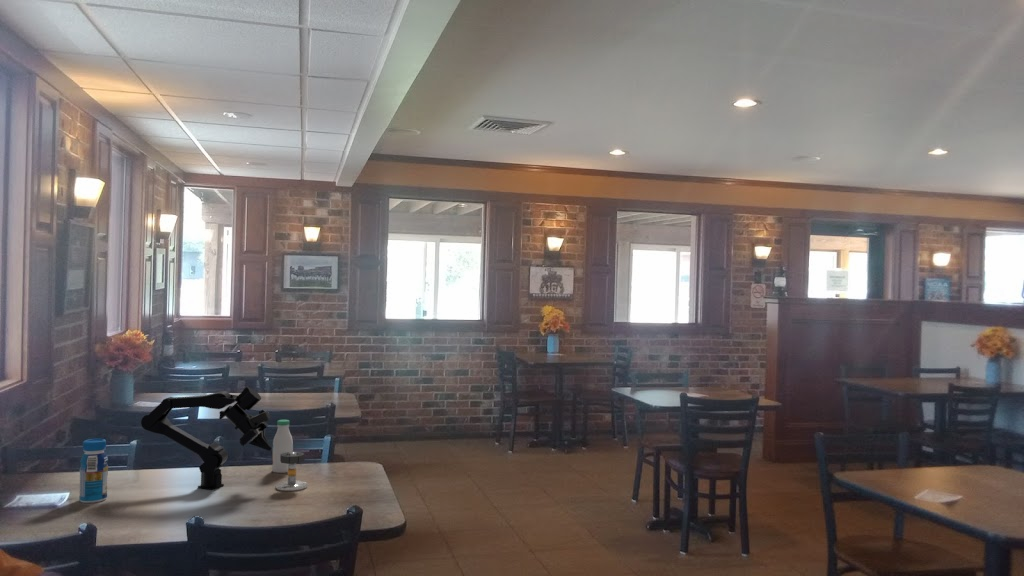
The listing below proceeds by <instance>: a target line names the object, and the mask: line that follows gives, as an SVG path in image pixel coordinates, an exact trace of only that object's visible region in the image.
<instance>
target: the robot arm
mask: <svg viewBox="0 0 1024 576" xmlns="http://www.w3.org/2000/svg"><path fill="white" fill-rule="evenodd" d="M261 400H262V397H261V395H260V393H258V392H257V391H256V390H254V389H252V388H250V387H249V386H246V387H245V388H244V389H243V390H242V391H241V392H240V393H239V394H238V395H237V394H231V393H229V392H228V390H227V391H226V390H222V391H218V392H214V393H211V394H210V393H209V394H206V395H194V396H193V395H192V396H191V395H190V396H179V397H178V396H177V397H174V396H169V397H166V398H163V400H162V401H160V403H159V404H158V405H157V406H156V407H155V408H154V409H153V410H151V412H150V413H148V414H146V415H144V416H142V417H141V420H140V421H141V422H140V423H141V428H142V429H143V430H145V431H147V432H151V433H153V434H158V435H162V436H165V437H167V438H168V439H169V440H172V441H174V442H175V443H177V444H179V445H181V446H183V447H184V448H186V449H188V450H189V451H191V452H193V453H194V454H196V455H198V457H199V458H200V459H201V461H202V462H203V463H201V465H199V466H198V469H199V472H200V474H201V475H200V485H198V486H197V488H198V489H203V490H215V489H218V488H220V487H223V486H225V484H224V483H222V481H223V480H222V479H223V478H222V477H223V474H222V469H220V468H222V467H223V465H224V463H225V462H226V461H227V460H228V456H229V455H228V451H227V450H226V449H225V446H223V445H222V446H221V445H220V444H218V443H217V442H215V441H213V442H212V443H210V444H209V443H206V442H204V441H202V440H200V439H199V438H196V437H195V436H193V435H192V434H189V432H186V431H185V430H183V429H181V428H179V427H178V426H176V425H174V424H173V422H171V420H170V419H169V418H168V415H169V414H170V413H171V411H172V410H173V409H187V408H188V409H189V408H200V407H201V408H208V409H215V410H221V409H224V408H225V409H224V410H221V411H219V418H218V419H219V420H223V419H224V418H225V417H226V418H227V419H228V421H230V422H231V423H232V425H233V426H234V429H235V430H236V431H237V430H238V431H240V433H241V434H243V435H242V436H241V437H240V438H239V443H240V445H241V446H242V447H245V446H246V445H247V444H248V445H251V446H255V447H258V448H261V449H263V450H266V451H269V452H270V451H271V450H273V447H272V445H271V444H270V442H269V440H268V439H267V436H266V431H267V429H266V428H267V427H269V424H268V423H267V421H269V420H271V418H272V417H271V415H270V412H269V411H268V410H265V409H264V408H263V409H261V410H259V411H258V414H257V415H254V416H253V415H252V414H248V413H247V412H246V411H250V410H251V409H253V407H255V405H257V404H258V403H259V402H260V401H261ZM232 404H234V405H232Z"/></svg>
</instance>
